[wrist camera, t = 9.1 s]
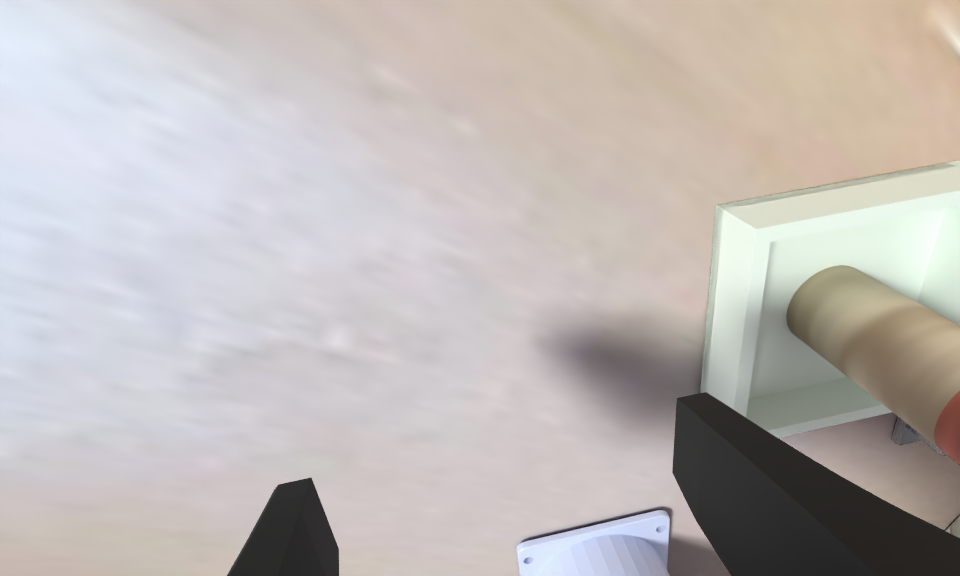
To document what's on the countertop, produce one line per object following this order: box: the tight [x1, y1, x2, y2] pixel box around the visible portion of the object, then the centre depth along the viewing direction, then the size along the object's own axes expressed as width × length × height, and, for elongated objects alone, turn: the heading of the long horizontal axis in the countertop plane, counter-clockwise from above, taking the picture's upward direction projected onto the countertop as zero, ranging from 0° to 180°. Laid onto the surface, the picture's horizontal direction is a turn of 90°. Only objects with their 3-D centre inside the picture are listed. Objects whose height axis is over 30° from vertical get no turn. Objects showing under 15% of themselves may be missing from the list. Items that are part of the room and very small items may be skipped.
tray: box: [700, 160, 960, 438], centre depth 22 cm, size 10×10×2 cm
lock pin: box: [786, 265, 960, 465], centre depth 20 cm, size 4×4×8 cm
